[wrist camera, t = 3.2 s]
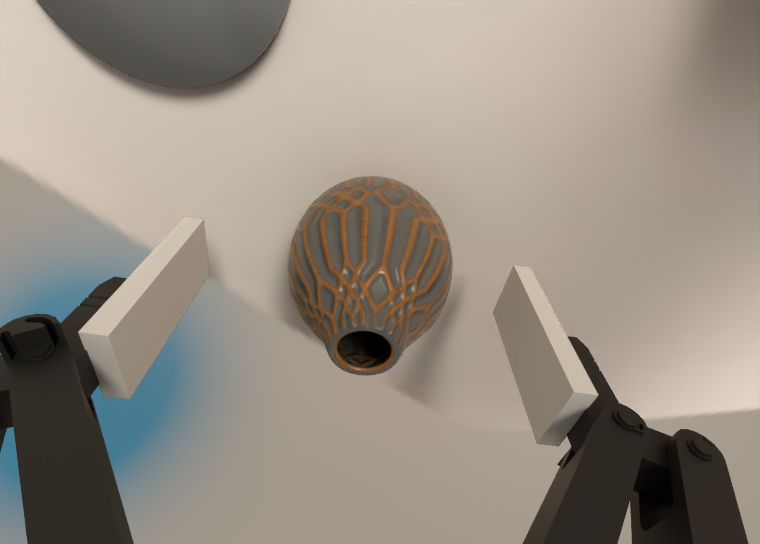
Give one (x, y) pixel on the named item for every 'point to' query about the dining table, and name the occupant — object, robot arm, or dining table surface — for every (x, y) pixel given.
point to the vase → (369, 271)
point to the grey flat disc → (172, 35)
